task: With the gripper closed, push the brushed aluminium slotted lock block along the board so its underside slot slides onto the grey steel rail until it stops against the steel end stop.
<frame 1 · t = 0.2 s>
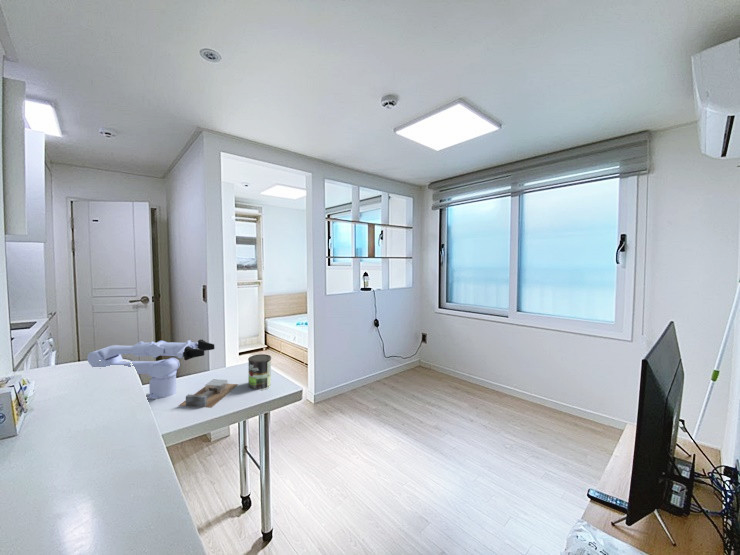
hand: (209, 349, 130), 21 cm above the table, tool horizontal, fingers open, 7 cm apart
coffee can: (259, 386, 144), on the table
slide rail board: (210, 395, 133), on the table
lock block: (216, 389, 138), point 1 cm above the table, touching slide rail board
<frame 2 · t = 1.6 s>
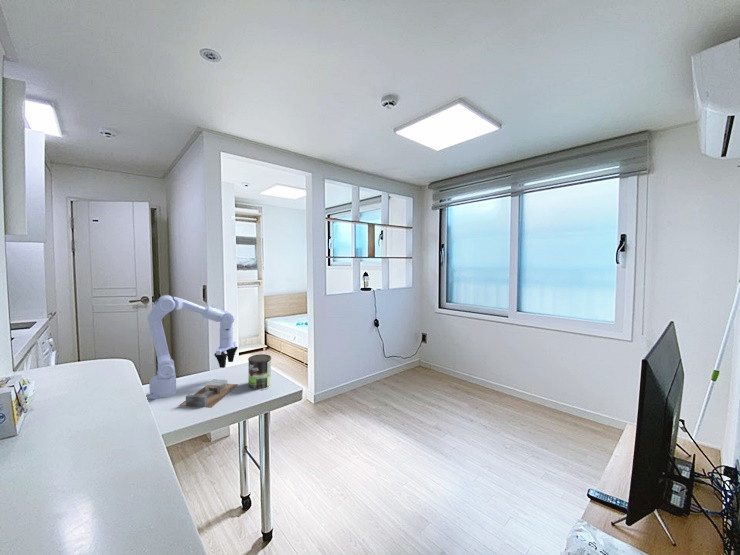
hand: (226, 364, 146), 9 cm above the table, tool pointing down, fingers open, 7 cm apart
nothing on the table moved.
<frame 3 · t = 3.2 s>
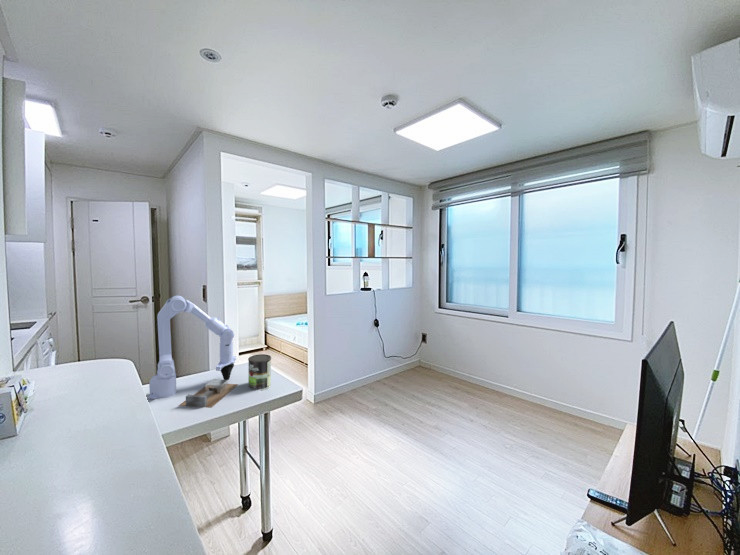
hand: (226, 379, 146), 2 cm above the table, tool pointing down, fingers closed
nothing on the table moved.
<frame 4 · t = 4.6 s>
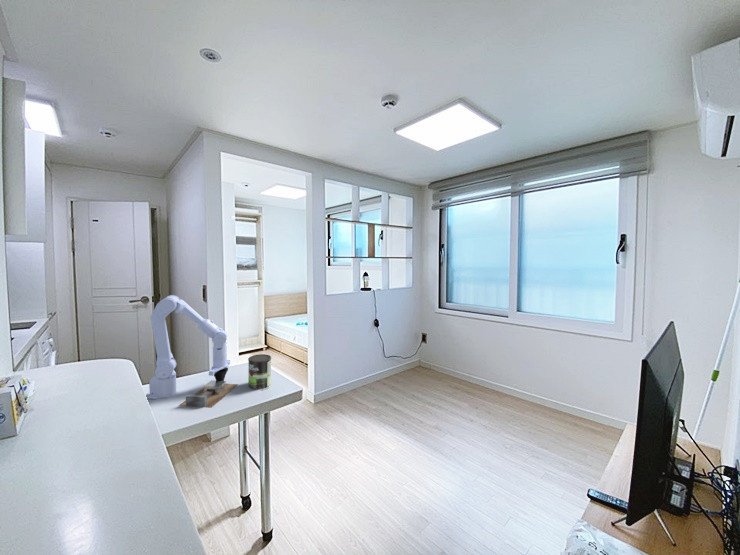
hand: (220, 384, 141), 2 cm above the table, tool pointing down, fingers closed
lock block: (215, 390, 136), point 1 cm above the table, touching gripper
everything else where it was.
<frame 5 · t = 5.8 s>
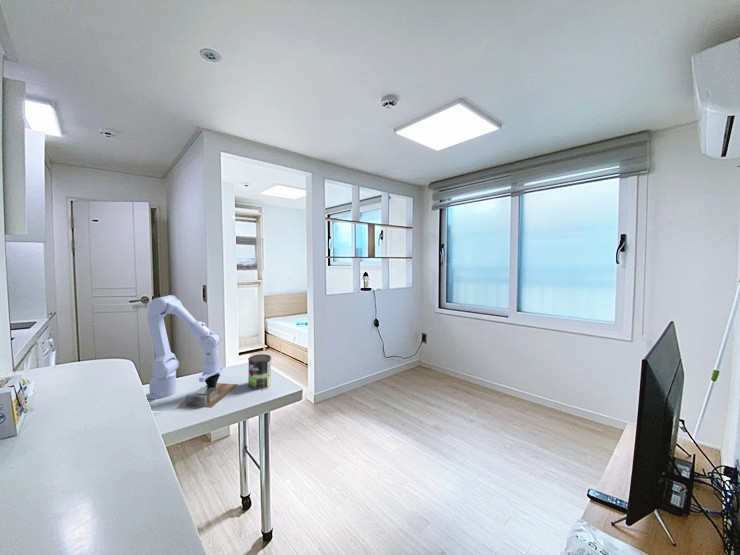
hand: (211, 391, 134), 2 cm above the table, tool pointing down, fingers closed, pressing on slide rail board
lock block: (206, 397, 130), point 1 cm above the table, touching gripper, slide rail board
everything else where it was.
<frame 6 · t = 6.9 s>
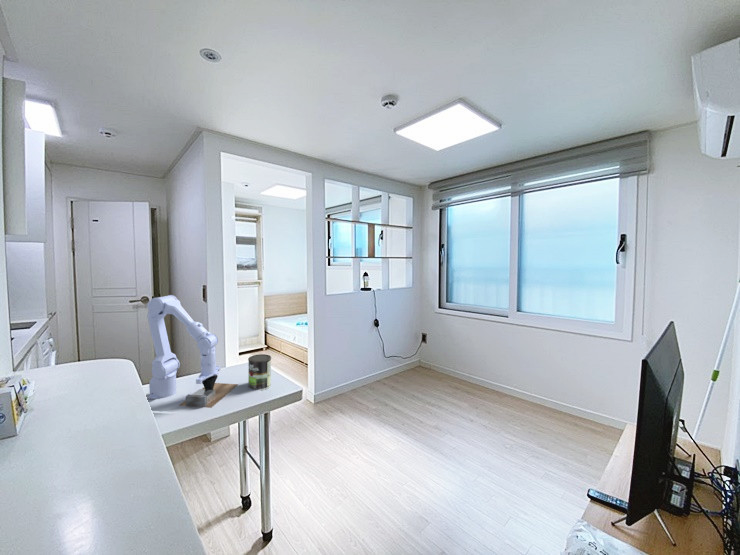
hand: (209, 392, 131), 2 cm above the table, tool pointing down, fingers closed, pressing on slide rail board
lock block: (203, 400, 127), point 1 cm above the table, touching gripper, slide rail board
everything else where it was.
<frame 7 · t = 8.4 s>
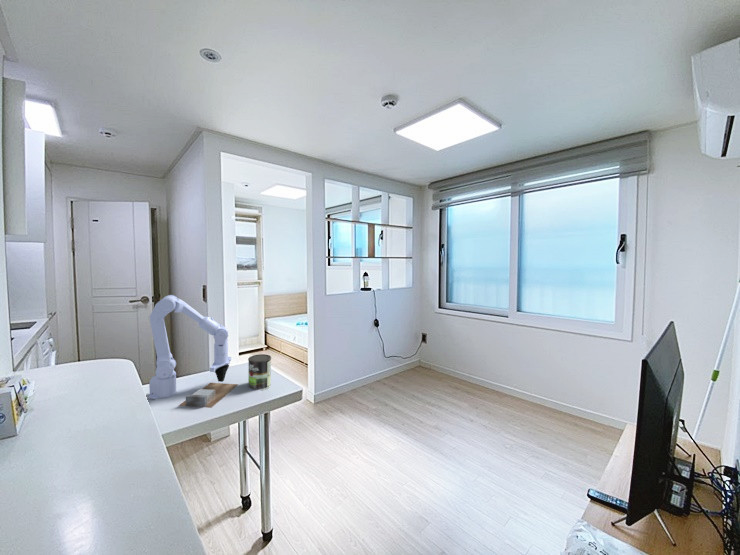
hand: (221, 381, 141), 3 cm above the table, tool pointing down, fingers closed
lock block: (203, 400, 127), point 1 cm above the table, touching slide rail board
everything else where it was.
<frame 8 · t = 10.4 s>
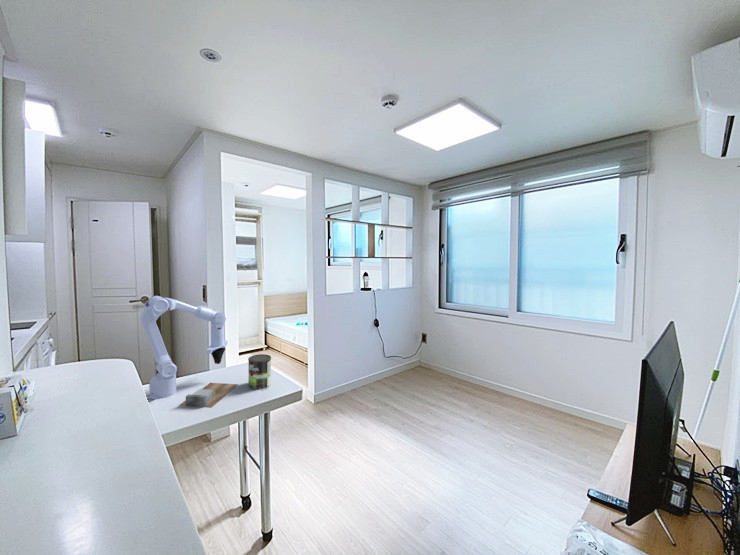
hand: (217, 363, 147), 9 cm above the table, tool pointing down, fingers closed
nothing on the table moved.
at the end: lock block 0.2 cm from the target spot on the slide rail board, point 0.8 cm above the slide rail board's base; lock block tilted 0° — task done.
